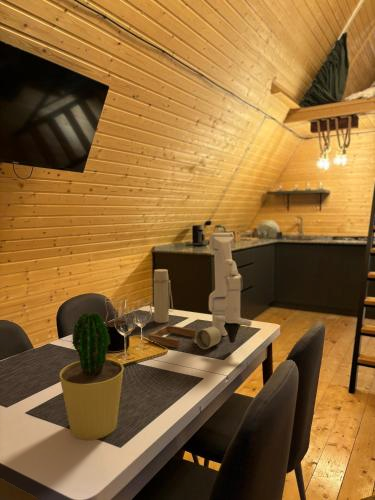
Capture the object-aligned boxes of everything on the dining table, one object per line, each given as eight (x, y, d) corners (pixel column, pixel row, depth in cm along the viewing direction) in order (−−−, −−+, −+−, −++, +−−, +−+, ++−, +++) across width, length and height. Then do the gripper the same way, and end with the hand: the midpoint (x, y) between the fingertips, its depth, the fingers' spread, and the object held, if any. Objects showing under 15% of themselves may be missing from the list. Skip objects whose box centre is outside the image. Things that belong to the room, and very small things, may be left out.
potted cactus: (132, 412, 103) (130, 303, 100) (112, 448, 88) (108, 320, 85) (78, 408, 106) (74, 301, 102) (50, 441, 91) (44, 317, 87)
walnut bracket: (167, 331, 171) (167, 325, 170) (195, 336, 164) (195, 329, 164) (148, 342, 158) (148, 334, 157) (177, 347, 151) (177, 340, 150)
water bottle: (152, 323, 183) (151, 271, 180) (156, 318, 190) (155, 268, 188) (171, 324, 181) (170, 271, 178) (174, 319, 189) (173, 269, 186)
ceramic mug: (222, 345, 154) (222, 326, 153) (211, 351, 147) (210, 331, 147) (201, 340, 160) (200, 322, 159) (189, 345, 154) (188, 326, 153)
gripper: (210, 307, 146) (210, 341, 147) (247, 312, 139) (246, 348, 140) (218, 303, 152) (218, 336, 154) (253, 307, 145) (253, 342, 147)
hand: (232, 341), depth 147 cm, fingers closed
